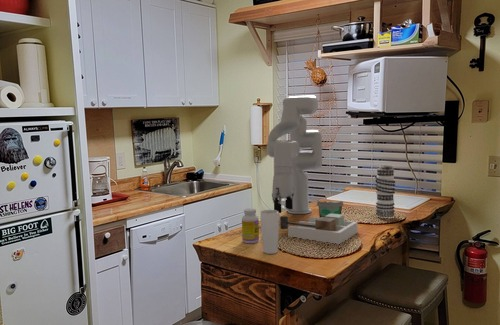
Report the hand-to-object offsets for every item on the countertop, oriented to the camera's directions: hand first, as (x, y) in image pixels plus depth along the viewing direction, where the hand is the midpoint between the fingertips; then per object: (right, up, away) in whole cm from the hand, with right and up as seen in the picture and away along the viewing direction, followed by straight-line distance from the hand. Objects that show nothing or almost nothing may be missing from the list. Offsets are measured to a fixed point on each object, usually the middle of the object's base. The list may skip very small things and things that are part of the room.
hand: (283, 210), depth 176 cm
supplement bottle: (-14, -11, -11) cm, 21 cm away
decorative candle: (+51, -6, +25) cm, 57 cm away
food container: (+22, -8, +16) cm, 29 cm away
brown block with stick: (+9, -8, -4) cm, 13 cm away
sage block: (+21, -8, -2) cm, 23 cm away
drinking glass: (-7, -12, -25) cm, 29 cm away
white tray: (+16, -10, -4) cm, 19 cm away
